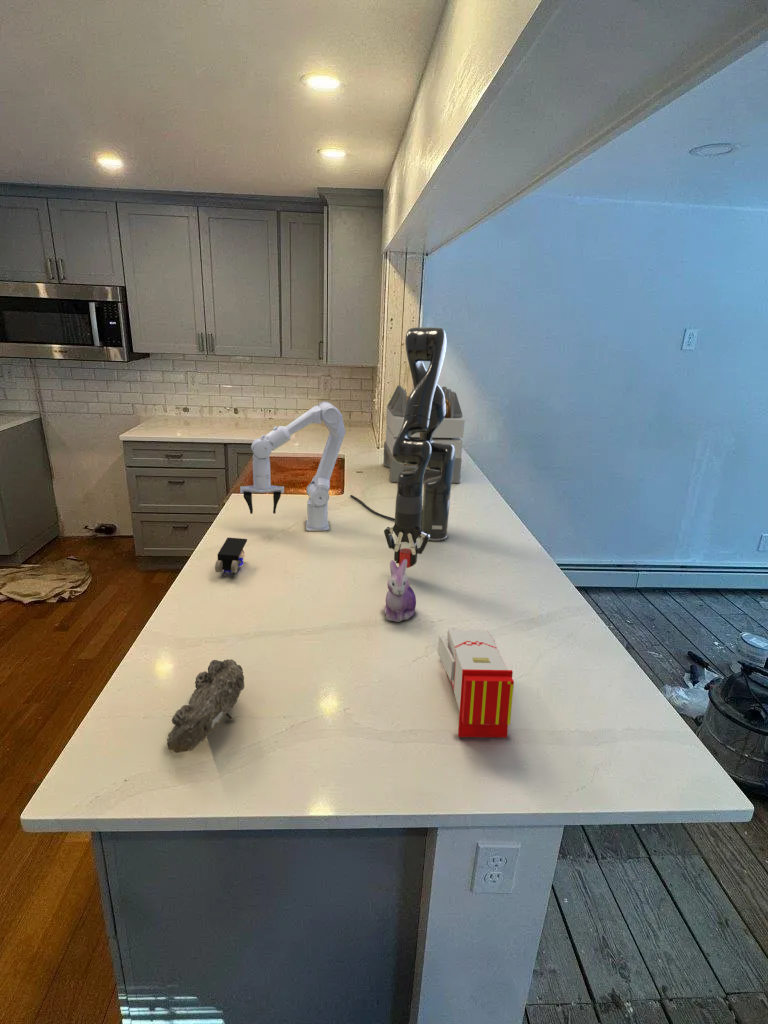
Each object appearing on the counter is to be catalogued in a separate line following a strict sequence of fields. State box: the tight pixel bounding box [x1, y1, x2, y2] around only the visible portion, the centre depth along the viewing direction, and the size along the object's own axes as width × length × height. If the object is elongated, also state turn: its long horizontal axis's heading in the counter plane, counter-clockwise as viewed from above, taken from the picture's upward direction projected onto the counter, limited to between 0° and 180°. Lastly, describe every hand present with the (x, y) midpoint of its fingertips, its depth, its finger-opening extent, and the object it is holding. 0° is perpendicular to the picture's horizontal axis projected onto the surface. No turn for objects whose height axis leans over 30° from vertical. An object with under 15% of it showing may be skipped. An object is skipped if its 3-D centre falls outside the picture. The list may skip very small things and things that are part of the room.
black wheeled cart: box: [214, 537, 248, 578], centre depth 166 cm, size 7×8×15 cm
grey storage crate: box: [383, 384, 465, 484], centre depth 268 cm, size 34×33×41 cm
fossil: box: [166, 658, 245, 754], centre depth 106 cm, size 22×10×15 cm
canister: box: [398, 547, 412, 569], centre depth 165 cm, size 4×4×5 cm
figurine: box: [384, 559, 417, 623], centre depth 145 cm, size 9×10×15 cm
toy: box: [437, 628, 515, 738], centre depth 117 cm, size 12×13×30 cm
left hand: (263, 512), depth 195 cm, fingers open, 7 cm apart
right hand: (405, 563), depth 166 cm, fingers closed on canister, 3 cm apart
